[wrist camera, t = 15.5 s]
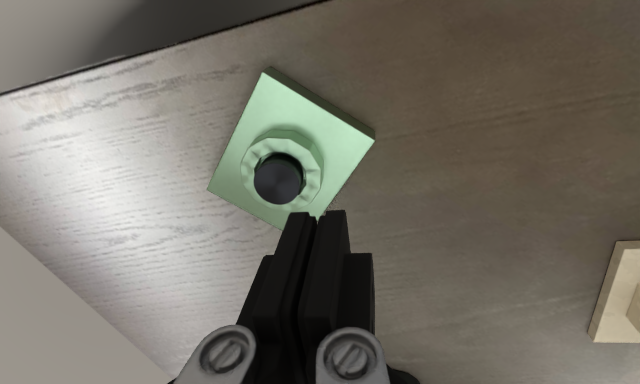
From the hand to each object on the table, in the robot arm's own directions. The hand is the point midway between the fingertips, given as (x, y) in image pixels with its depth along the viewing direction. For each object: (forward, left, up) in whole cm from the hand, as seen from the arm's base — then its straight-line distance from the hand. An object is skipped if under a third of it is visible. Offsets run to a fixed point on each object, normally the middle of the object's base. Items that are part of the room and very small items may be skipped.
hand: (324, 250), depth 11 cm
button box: (+8, -2, -20) cm, 21 cm away
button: (+8, -2, -16) cm, 18 cm away
